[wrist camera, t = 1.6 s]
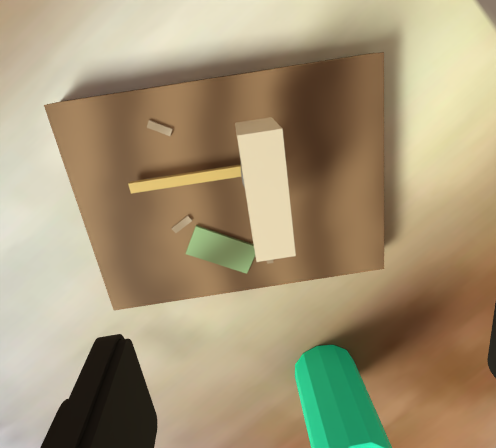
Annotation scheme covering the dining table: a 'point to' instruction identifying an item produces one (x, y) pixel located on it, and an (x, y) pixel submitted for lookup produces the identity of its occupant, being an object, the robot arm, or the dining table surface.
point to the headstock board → (228, 190)
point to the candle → (336, 401)
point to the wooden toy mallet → (251, 186)
